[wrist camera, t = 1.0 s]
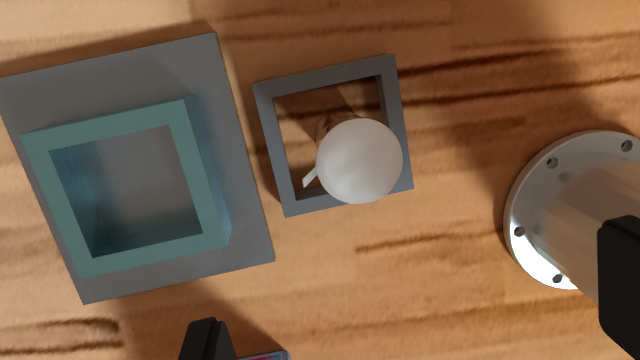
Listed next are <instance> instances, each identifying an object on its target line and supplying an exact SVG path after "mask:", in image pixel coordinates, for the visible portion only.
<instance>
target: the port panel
mask: <svg viewBox="0 0 640 360" xmlns="http://www.w3.org/2000/svg"><path fill="white" fill-rule="evenodd" d="M0 114H1V116H2V119H3V121H4V123H5V126H6V128H7V130H8V133H9V135H10V137H11V139H12V142H13V144H14V146H15V149H16V151H17V153H18V156H19V158H20V160H21V162H22V165H23V167H24V169H25V172H26V174H27V176H28V179H29V181H30V183H31V186H32V188H33V190H34V192H35V195H36V197H37V199H38V202H39V204H40V206H41V209H42V211H43V213H44V216H45V218H46V220H47V222H48V225H49V227H50V229H51V232H52V234H53V236H54V239H55V241H56V243H57V245H58V248H59V250H60V252H61V255H62V257H63V259H64V262H65V264H66V266H67V269H68V271H69V273H70V275H71V278H72V280H73V282H74V285H75V287H76V289H77V292H78V294H79V296H80V299H81V301H82V303H83V305H86V304H91V303H95V302H100V301H104V300H108V299H113V298H117V297H121V296H126V295H130V294H134V293H139V292H143V291H148V290H152V289H156V288H161V287H165V286H169V285H174V284H178V283H183V282H187V281H191V280H196V279H200V278H204V277H209V276H213V275H218V274H222V273H226V272H231V271H235V270H239V269H244V268H248V267H252V266H257V265H261V264H266V263H270V262H274V261H275V251H274V248H273V244H272V240H271V236H270V233H269V229H268V225H267V221H266V217H265V214H264V210H263V206H262V202H261V199H260V195H259V191H258V187H257V183H256V180H255V176H254V172H253V168H252V165H251V161H250V157H249V153H248V149H247V146H246V142H245V138H244V134H243V131H242V127H241V123H240V119H239V115H238V112H237V108H236V104H235V100H234V97H233V93H232V89H231V85H230V81H229V78H228V74H227V70H226V66H225V63H224V59H223V55H222V51H221V47H220V44H219V40H218V36H217V32H212V33H207V34H202V35H198V36H193V37H188V38H184V39H179V40H175V41H170V42H165V43H161V44H156V45H151V46H147V47H142V48H137V49H133V50H128V51H123V52H119V53H114V54H109V55H105V56H100V57H96V58H91V59H86V60H82V61H77V62H72V63H68V64H63V65H58V66H54V67H49V68H44V69H40V70H35V71H30V72H26V73H21V74H17V75H12V76H7V77H3V78H0Z"/></svg>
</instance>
